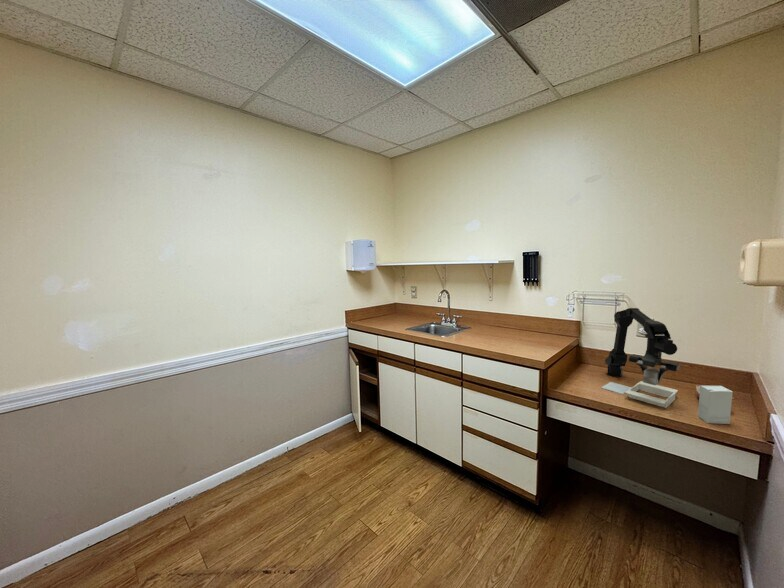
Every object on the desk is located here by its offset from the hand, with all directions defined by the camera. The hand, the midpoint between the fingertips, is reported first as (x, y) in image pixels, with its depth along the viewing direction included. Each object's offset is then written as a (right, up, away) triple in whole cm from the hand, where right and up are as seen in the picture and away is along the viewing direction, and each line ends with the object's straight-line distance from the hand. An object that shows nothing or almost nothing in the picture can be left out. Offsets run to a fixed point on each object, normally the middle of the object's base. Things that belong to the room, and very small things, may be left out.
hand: (652, 378), depth 155 cm
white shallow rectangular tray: (+1, -10, +2) cm, 10 cm away
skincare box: (+9, -13, -20) cm, 26 cm away
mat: (-8, -9, +14) cm, 18 cm away
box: (+1, -1, +1) cm, 2 cm away
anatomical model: (+24, -11, -5) cm, 27 cm away
